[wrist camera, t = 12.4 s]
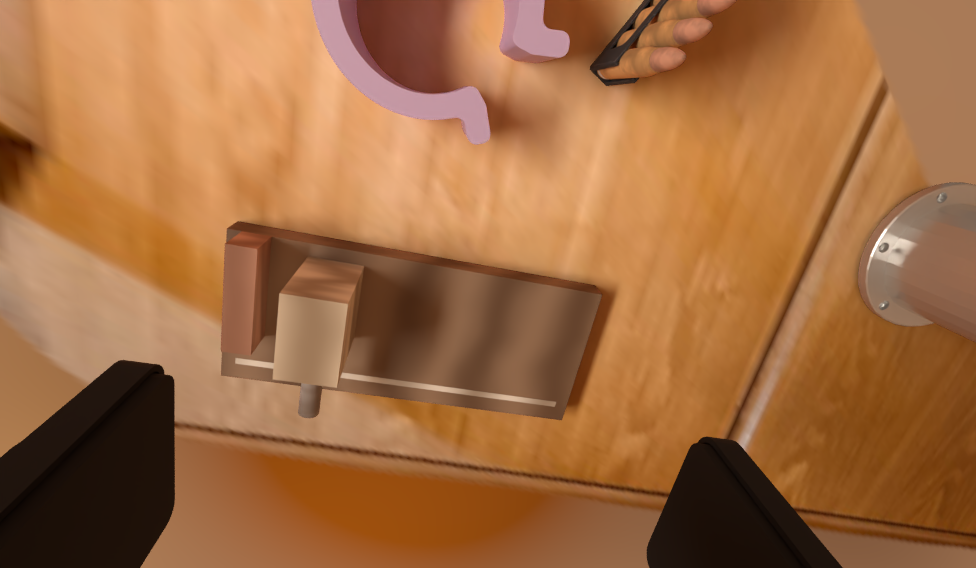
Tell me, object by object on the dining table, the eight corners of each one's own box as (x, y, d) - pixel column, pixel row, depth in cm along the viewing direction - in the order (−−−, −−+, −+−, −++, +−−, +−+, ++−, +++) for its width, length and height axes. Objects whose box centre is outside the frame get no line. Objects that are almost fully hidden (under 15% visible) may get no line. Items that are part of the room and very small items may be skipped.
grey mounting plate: (594, 285, 41) (614, 310, 37) (556, 406, 45) (570, 442, 41) (237, 221, 37) (208, 240, 32) (230, 362, 41) (204, 397, 36)
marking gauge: (364, 266, 37) (348, 304, 30) (347, 381, 40) (330, 438, 34) (308, 256, 36) (279, 293, 30) (296, 374, 39) (268, 430, 33)
